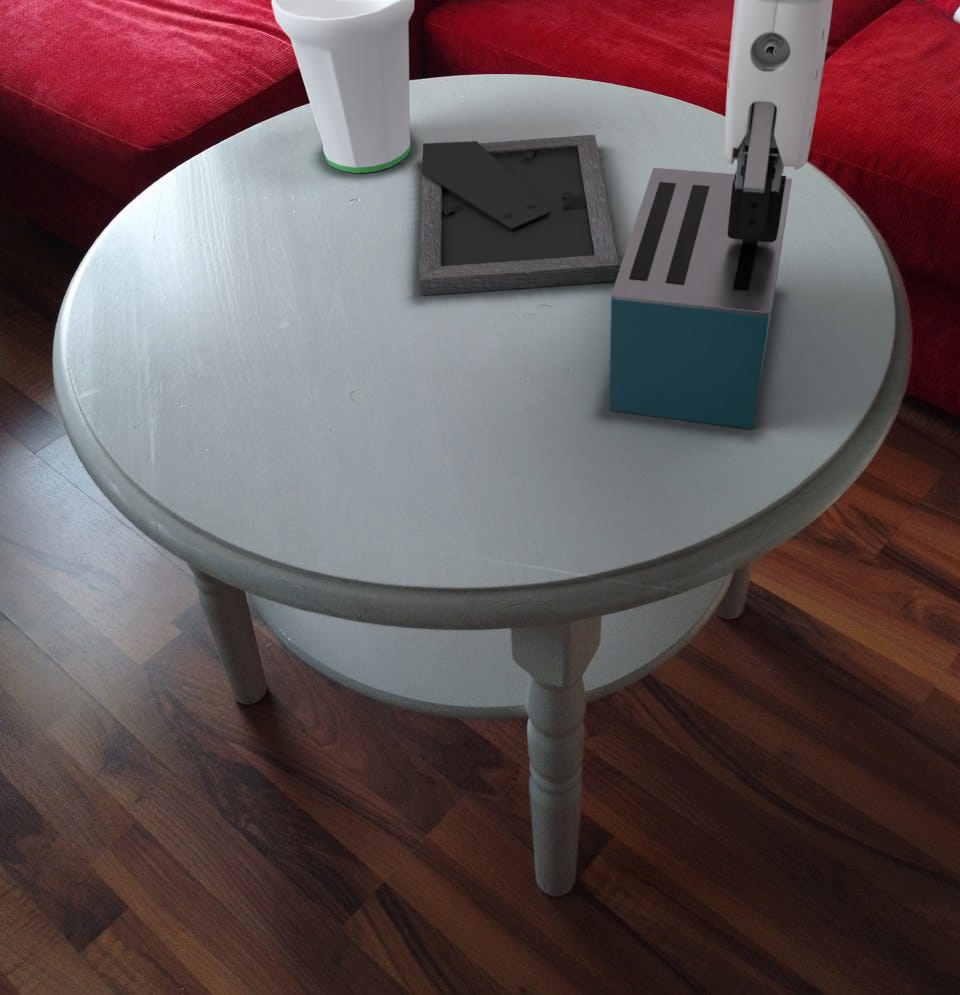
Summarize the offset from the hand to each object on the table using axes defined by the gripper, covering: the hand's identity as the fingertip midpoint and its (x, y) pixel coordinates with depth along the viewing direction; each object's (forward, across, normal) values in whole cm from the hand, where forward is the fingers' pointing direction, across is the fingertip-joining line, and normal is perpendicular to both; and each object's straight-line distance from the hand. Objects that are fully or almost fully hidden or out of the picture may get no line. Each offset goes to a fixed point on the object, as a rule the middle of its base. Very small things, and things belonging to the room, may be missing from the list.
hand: (752, 233), depth 73 cm
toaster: (+11, +1, +3) cm, 11 cm away
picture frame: (+11, +16, +21) cm, 29 cm away
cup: (+11, +24, +38) cm, 47 cm away
